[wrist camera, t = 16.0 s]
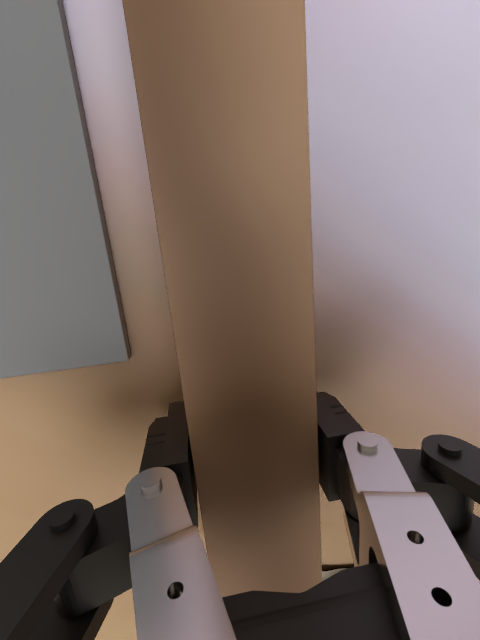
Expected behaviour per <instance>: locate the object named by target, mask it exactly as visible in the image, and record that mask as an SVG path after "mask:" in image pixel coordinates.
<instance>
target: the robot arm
mask: <svg viewBox="0 0 480 640" xmlns="http://www.w3.org/2000/svg"><path fill="white" fill-rule="evenodd" d="M316 398H317V431H318V464H319V483H320V485H321V487H322V489H323V491H324V493H325V495H326V497H327V499H328V501H329V502H330V501H335V500H341V502H342V503H343V516H344V522H345V526H346V531H347V535H348V540H349V544H350V549H351V553H352V558H353V562H354V567H353V568H349V569H345V570H341V571H339V572H338V573H336V574H334V575H332V576H331V577H329V578H327V579H326V580H324V581H322V582H320V583H319V584H317V585H315V586H314V587H312V588H310V589H308V590H307V591H305V592H301V593H289V592H272V591H255V590H252V591H248V592H243V593H239V594H235V595H230V596H226V597H222V596H221V594H220V591H219V588H218V585H217V582H216V579H215V576H214V574H213V571H212V568H211V565H210V562H209V559H208V557H207V554H206V551H205V548H204V545H203V542H202V539H201V537H200V534H199V531H198V508H197V483H196V477H195V470H194V464H193V457H192V451H191V444H190V438H189V431H188V424H187V418H186V411H185V405H184V401H178V402H172V403H169V411H168V417H161V418H156V419H155V421H154V422H153V423H152V424H151V425H150V427H149V430H148V434H147V439H146V443H145V448H144V453H143V457H142V462H141V466H140V471H139V474H137V475H136V476H135V477H133V478H132V479H131V481H130V482H129V483H128V485H127V487H126V490H125V495H123V496H122V497H120V498H119V499H117V500H115V501H113V502H111V503H108V504H106V505H104V506H102V507H99V508H97V509H95V510H94V509H93V505H92V504H91V503H90V502H89V501H87V500H84V499H74V500H69V501H66V502H63V503H61V504H59V505H57V506H55V507H54V508H52V509H51V510H49V511H48V512H47V513H45V514H44V515H43V516H42V517H41V518H40V519H39V520H38V521H37V522H36V524H35V525H34V526H33V527H32V528H31V529H30V530H29V531H28V533H27V534H26V535H25V536H24V537H23V538H22V539H21V540H20V542H19V543H18V544H17V545H16V546H15V547H14V548H13V550H12V551H11V552H10V553H9V554H8V555H7V556H6V557H5V559H4V560H3V561H2V562H1V563H0V640H94V639H95V637H96V635H97V633H98V631H99V629H100V627H101V625H102V623H103V621H104V619H105V617H106V615H107V613H108V611H109V609H110V607H111V605H112V602H113V599H114V597H116V596H118V595H120V594H122V593H123V592H125V591H127V590H129V589H131V588H132V590H133V600H134V610H135V620H136V630H137V640H480V583H479V581H478V579H479V580H480V518H479V517H478V516H476V515H475V514H473V508H474V501H475V502H477V503H479V504H480V448H478V447H476V446H474V445H472V444H470V443H467V442H465V441H463V440H461V439H459V438H456V437H452V436H448V435H431V436H428V437H426V438H424V439H423V441H422V447H421V450H415V449H398V448H393V447H392V445H391V443H390V442H389V441H388V440H387V439H385V438H384V437H382V436H380V435H378V434H375V433H371V432H365V431H364V430H363V428H362V427H361V426H360V425H359V424H358V423H357V422H356V421H355V419H354V418H353V417H352V416H351V415H350V414H349V413H347V410H346V409H345V408H344V407H343V406H342V405H341V404H340V402H339V401H338V400H337V399H336V398H335V397H333V396H331V395H330V394H328V393H326V392H320V393H318V392H317V391H316ZM476 577H477V578H478V579H477V578H476Z"/></svg>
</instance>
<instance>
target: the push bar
mask: <svg viewBox="0 0 480 640" xmlns="http://www.w3.org/2000/svg"><path fill="white" fill-rule="evenodd" d="M122 1H123V8H124V14H125V21H126V27H127V34H128V40H129V47H130V53H131V60H132V66H133V73H134V79H135V86H136V92H137V99H138V105H139V112H140V118H141V125H142V131H143V138H144V144H145V151H146V157H147V164H148V170H149V177H150V183H151V190H152V196H153V203H154V210H155V216H156V223H157V229H158V236H159V242H160V249H161V255H162V262H163V268H164V275H165V281H166V288H167V294H168V301H169V307H170V314H171V320H172V327H173V333H174V340H175V346H176V353H177V359H178V366H179V372H180V379H181V385H182V392H183V398H184V405H185V411H186V418H187V424H188V431H189V438H190V444H191V451H192V457H193V464H194V470H195V477H196V483H197V490H198V496H199V503H200V509H201V516H202V522H203V529H204V535H205V542H206V548H207V555H208V559H209V562H210V565H211V568H212V571H213V574H214V576H215V579H216V582H217V585H218V588H219V591H220V594H221V596H222V597H226V596H230V595H235V594H239V593H243V592H248V591H252V590H255V591H272V592H289V593H301V592H305V591H307V590H308V589H310V588H312V587H314V586H315V585H317V584H319V583H320V582H322V564H321V531H320V498H319V464H318V431H317V398H316V365H315V331H314V298H313V265H312V232H311V198H310V165H309V132H308V99H307V65H306V32H305V0H122Z"/></svg>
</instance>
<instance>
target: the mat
mask: <svg viewBox="0 0 480 640" xmlns="http://www.w3.org/2000/svg"><path fill="white" fill-rule="evenodd" d="M130 357H131V351H130V346H129V341H128V336H127V331H126V326H125V321H124V315H123V310H122V305H121V300H120V295H119V290H118V285H117V279H116V274H115V269H114V264H113V259H112V254H111V249H110V243H109V238H108V233H107V228H106V223H105V218H104V213H103V208H102V202H101V197H100V192H99V187H98V182H97V177H96V172H95V166H94V161H93V156H92V151H91V146H90V141H89V136H88V131H87V125H86V120H85V115H84V110H83V105H82V100H81V95H80V89H79V84H78V79H77V74H76V69H75V64H74V59H73V54H72V48H71V43H70V38H69V33H68V28H67V23H66V18H65V12H64V7H63V2H62V0H0V378H7V377H14V376H22V375H29V374H36V373H44V372H51V371H58V370H66V369H73V368H80V367H87V366H95V365H102V364H109V363H117V362H124V361H129V359H130Z"/></svg>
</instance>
